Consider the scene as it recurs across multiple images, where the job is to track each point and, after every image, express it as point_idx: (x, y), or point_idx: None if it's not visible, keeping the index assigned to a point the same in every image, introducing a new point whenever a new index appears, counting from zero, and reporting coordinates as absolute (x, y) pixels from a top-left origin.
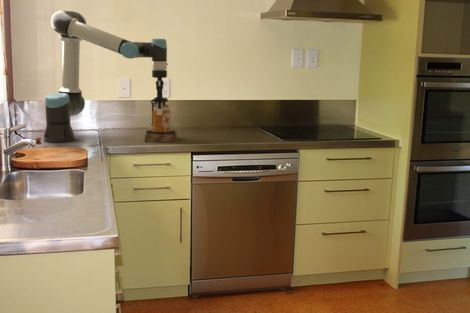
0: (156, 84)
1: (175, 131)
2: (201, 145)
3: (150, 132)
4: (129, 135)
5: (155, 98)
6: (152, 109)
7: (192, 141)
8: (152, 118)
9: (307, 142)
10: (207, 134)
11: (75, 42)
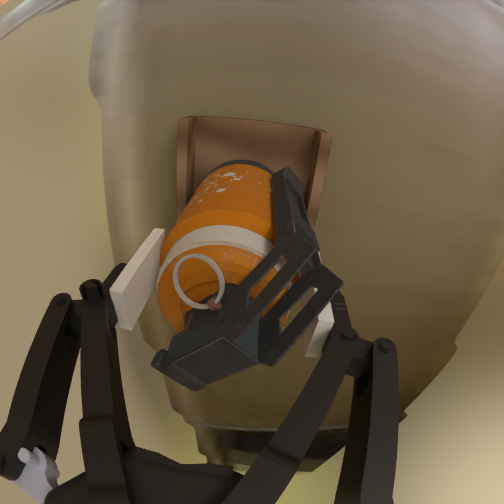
0: (90, 483)
1: None
2: None
3: (316, 154)
4: (397, 64)
5: (246, 317)
6: (285, 217)
7: None
8: (281, 188)
9: (200, 437)
10: None
11: None
